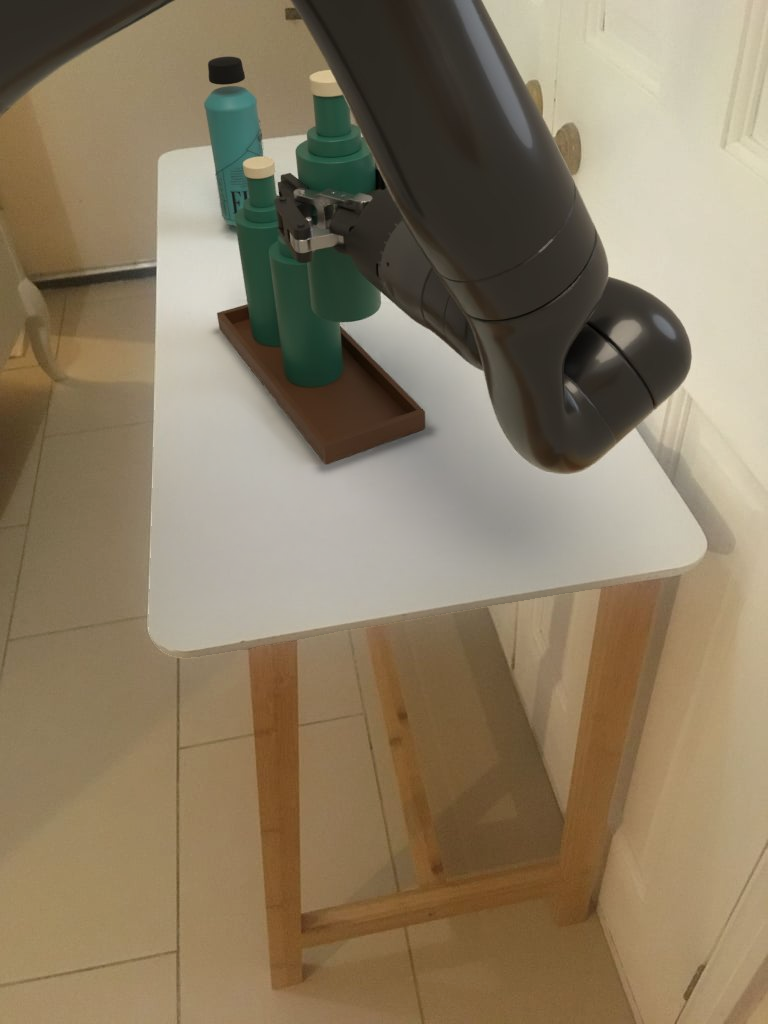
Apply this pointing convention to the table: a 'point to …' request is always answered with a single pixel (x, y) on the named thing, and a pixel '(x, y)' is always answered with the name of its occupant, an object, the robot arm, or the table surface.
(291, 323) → the row bottle middle
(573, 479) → the table surface
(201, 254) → the table surface
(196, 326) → the table surface
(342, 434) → the tray
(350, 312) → the green bottle
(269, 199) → the row bottle far
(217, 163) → the beverage bottle
